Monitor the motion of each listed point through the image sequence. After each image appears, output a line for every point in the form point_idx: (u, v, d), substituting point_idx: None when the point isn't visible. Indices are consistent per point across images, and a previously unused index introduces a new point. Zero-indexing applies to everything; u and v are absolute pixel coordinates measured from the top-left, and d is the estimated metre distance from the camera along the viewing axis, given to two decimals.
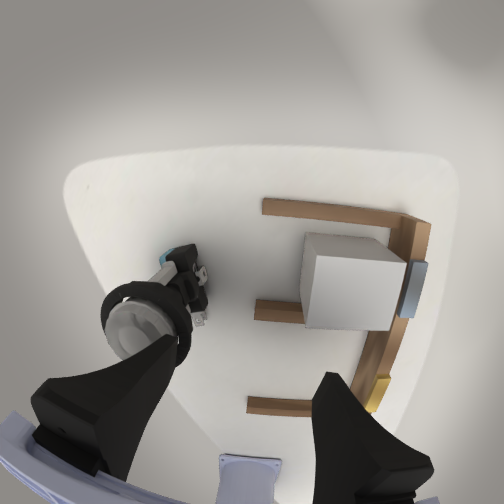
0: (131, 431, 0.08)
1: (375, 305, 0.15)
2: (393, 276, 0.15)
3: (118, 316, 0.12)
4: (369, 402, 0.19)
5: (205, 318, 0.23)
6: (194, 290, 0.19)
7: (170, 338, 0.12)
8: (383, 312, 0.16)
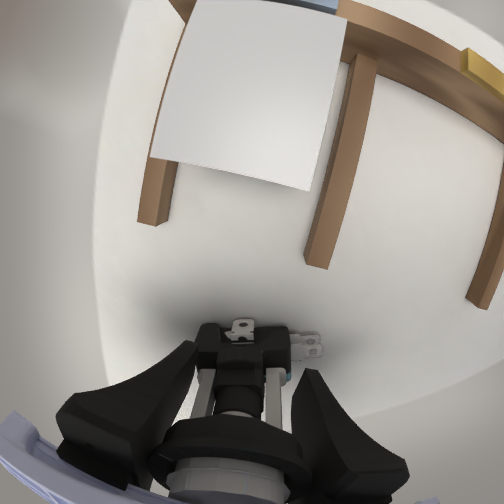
0: (157, 441, 0.08)
1: (278, 41, 0.06)
2: (219, 13, 0.06)
3: None
4: None
5: (317, 336, 0.14)
6: (241, 359, 0.11)
7: (191, 344, 0.12)
8: (299, 26, 0.06)
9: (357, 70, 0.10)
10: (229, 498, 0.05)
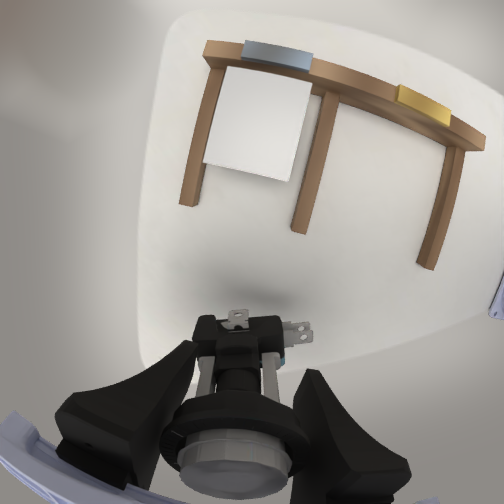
0: (156, 440, 0.08)
1: (273, 99, 0.13)
2: (240, 79, 0.13)
3: (191, 483, 0.07)
4: (433, 115, 0.13)
5: (307, 324, 0.16)
6: (238, 344, 0.12)
7: (190, 344, 0.12)
8: (284, 90, 0.13)
9: (325, 103, 0.16)
10: (238, 467, 0.06)
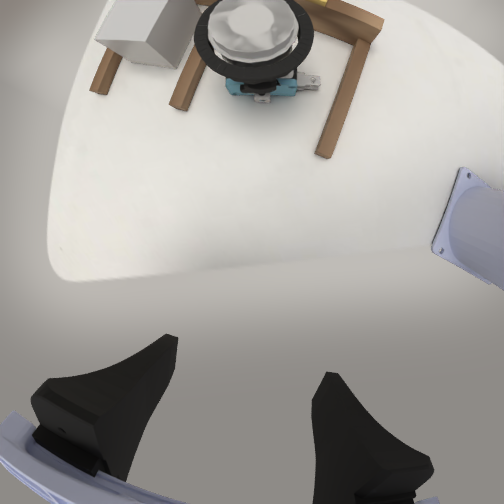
0: (131, 431, 0.08)
1: None
2: None
3: (214, 26, 0.09)
4: None
5: (316, 80, 0.17)
6: None
7: (170, 338, 0.12)
8: None
9: None
10: None
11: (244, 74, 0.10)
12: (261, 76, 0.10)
